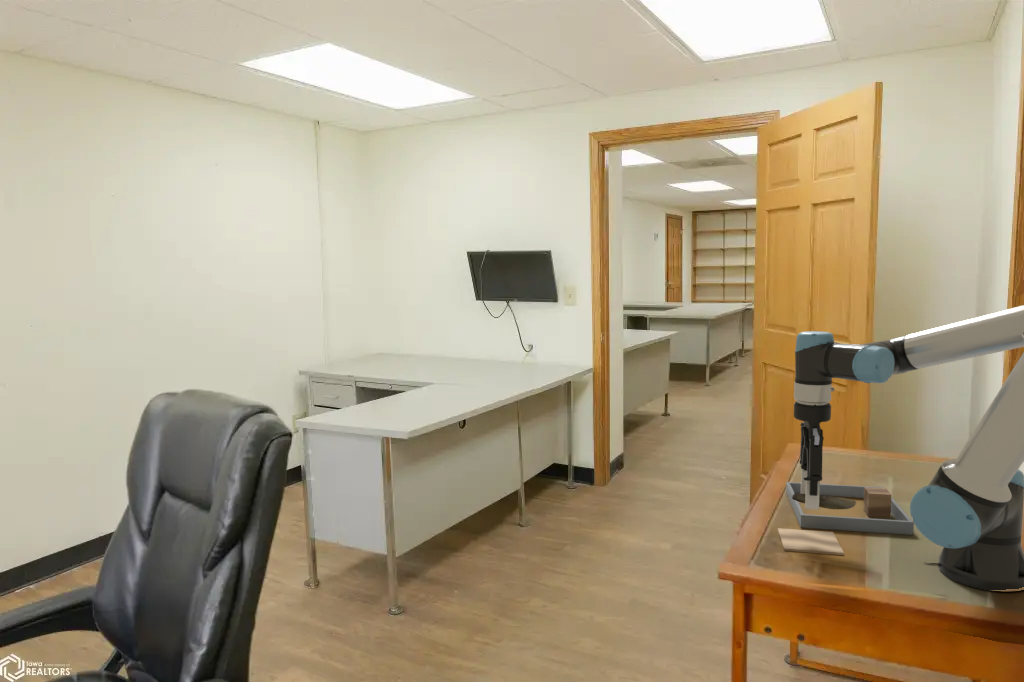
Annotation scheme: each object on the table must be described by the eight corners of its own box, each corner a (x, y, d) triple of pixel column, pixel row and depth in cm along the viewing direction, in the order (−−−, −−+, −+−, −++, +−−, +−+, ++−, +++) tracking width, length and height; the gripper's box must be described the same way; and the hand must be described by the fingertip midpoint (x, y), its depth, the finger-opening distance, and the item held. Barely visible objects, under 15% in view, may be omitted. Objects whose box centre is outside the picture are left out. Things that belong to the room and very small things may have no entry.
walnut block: (890, 518, 167) (891, 494, 166) (868, 517, 168) (868, 493, 168) (885, 511, 172) (885, 488, 171) (863, 510, 173) (863, 487, 172)
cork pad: (844, 555, 146) (844, 552, 146) (784, 550, 149) (784, 548, 149) (832, 534, 158) (832, 532, 158) (777, 530, 161) (777, 528, 161)
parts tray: (913, 535, 156) (913, 522, 156) (800, 527, 162) (800, 515, 162) (882, 498, 181) (882, 487, 181) (786, 492, 187) (786, 481, 187)
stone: (856, 508, 150) (857, 498, 149) (853, 515, 145) (854, 505, 145) (793, 498, 157) (794, 488, 156) (789, 504, 153) (789, 494, 152)
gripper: (840, 411, 140) (836, 520, 143) (822, 394, 158) (819, 491, 161) (800, 409, 142) (797, 517, 145) (788, 393, 160) (785, 489, 163)
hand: (809, 503), depth 153 cm, fingers closed on stone, 6 cm apart
